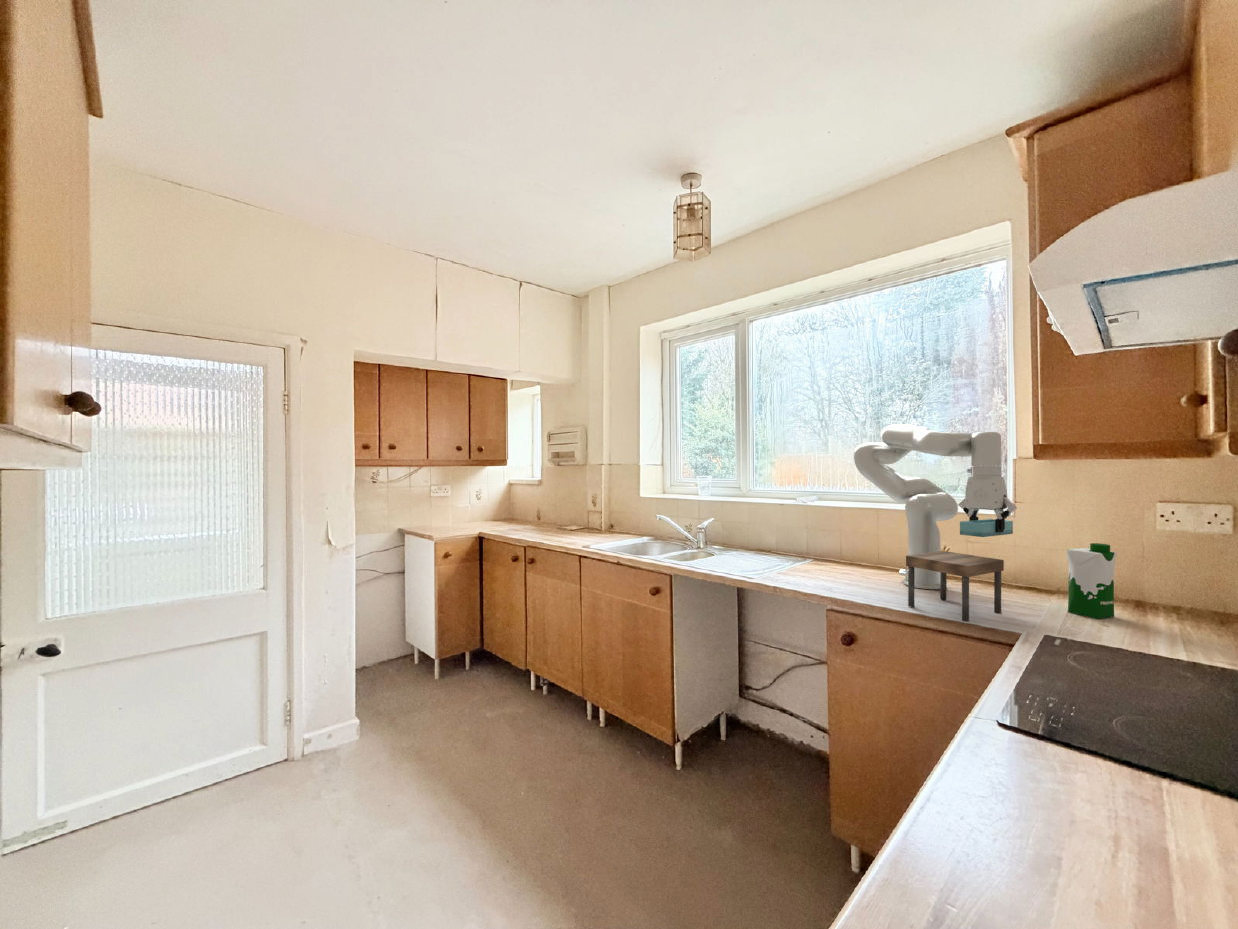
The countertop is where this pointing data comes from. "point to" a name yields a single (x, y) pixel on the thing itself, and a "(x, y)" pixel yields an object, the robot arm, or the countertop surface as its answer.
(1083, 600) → the milk carton
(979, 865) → the countertop surface
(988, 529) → the tray
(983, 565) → the small wooden table
